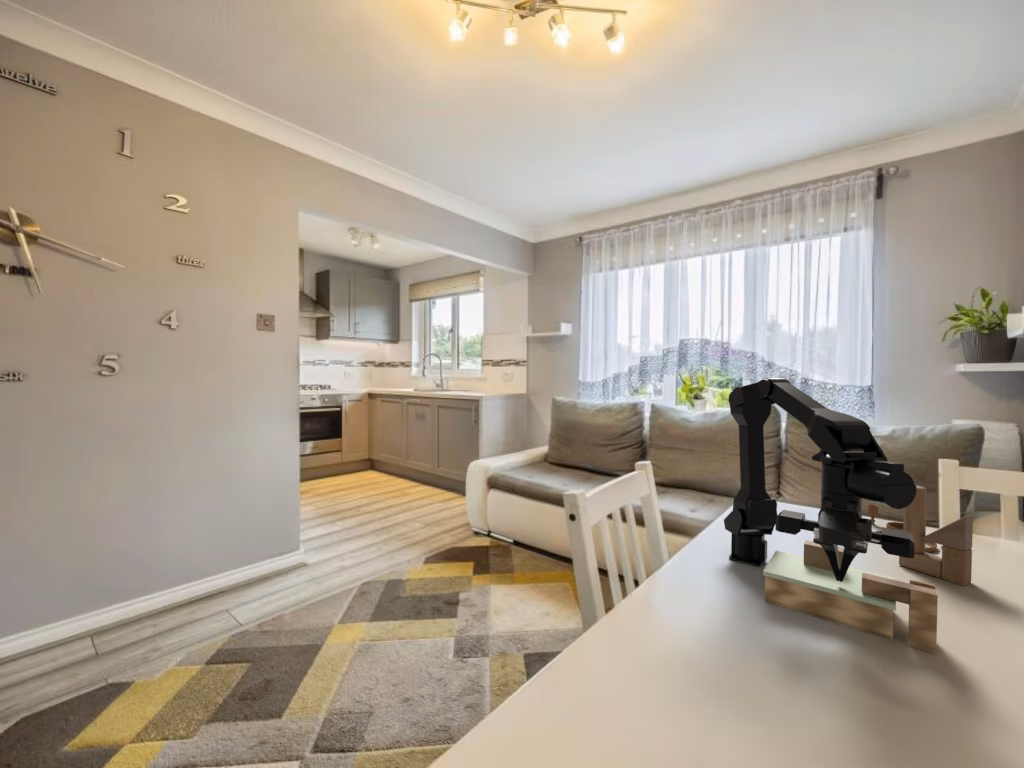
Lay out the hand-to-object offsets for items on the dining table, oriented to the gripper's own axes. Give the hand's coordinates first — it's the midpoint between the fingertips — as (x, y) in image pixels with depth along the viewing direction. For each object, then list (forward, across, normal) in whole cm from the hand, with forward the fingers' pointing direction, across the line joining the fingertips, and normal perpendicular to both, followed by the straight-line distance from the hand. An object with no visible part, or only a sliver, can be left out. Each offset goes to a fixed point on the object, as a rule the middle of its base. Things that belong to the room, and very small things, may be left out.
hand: (839, 580), depth 76 cm
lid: (+2, -2, +4) cm, 5 cm away
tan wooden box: (+7, 0, +4) cm, 8 cm away
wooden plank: (+1, +8, 0) cm, 8 cm away
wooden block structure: (+7, +14, +35) cm, 38 cm away
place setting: (+7, +10, +58) cm, 59 cm away
